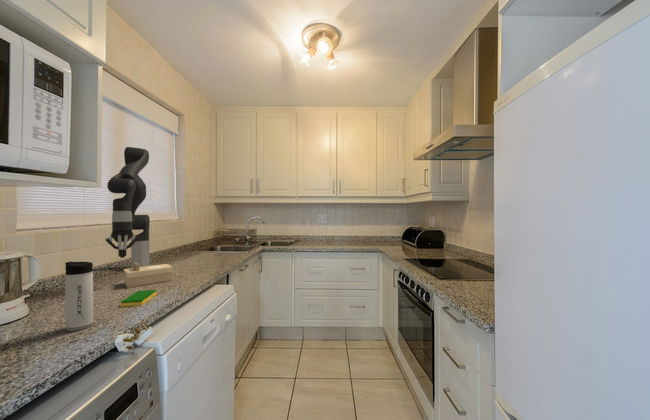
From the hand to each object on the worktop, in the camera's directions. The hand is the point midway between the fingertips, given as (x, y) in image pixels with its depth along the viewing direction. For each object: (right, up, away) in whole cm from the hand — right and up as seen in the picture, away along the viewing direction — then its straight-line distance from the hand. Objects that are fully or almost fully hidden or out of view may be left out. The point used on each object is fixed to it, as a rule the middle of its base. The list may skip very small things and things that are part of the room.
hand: (122, 257), depth 126 cm
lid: (+8, -9, +7) cm, 14 cm away
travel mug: (+20, -14, -44) cm, 50 cm away
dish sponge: (+22, -14, -19) cm, 32 cm away
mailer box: (+8, -14, +7) cm, 17 cm away
